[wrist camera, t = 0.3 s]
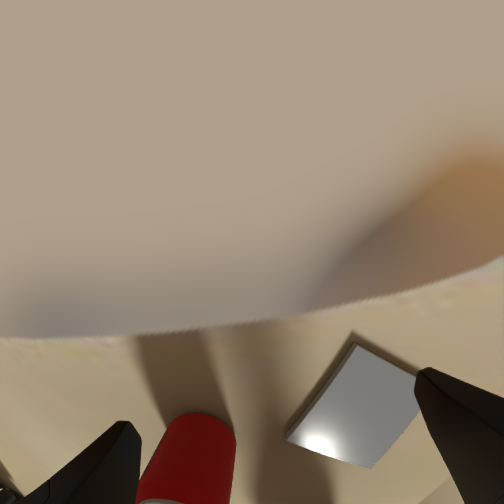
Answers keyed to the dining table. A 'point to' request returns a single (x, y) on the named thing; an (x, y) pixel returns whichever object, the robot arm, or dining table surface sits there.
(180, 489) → the beverage can
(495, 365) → the dining table surface
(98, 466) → the robot arm
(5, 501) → the milk frother
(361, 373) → the trivet
